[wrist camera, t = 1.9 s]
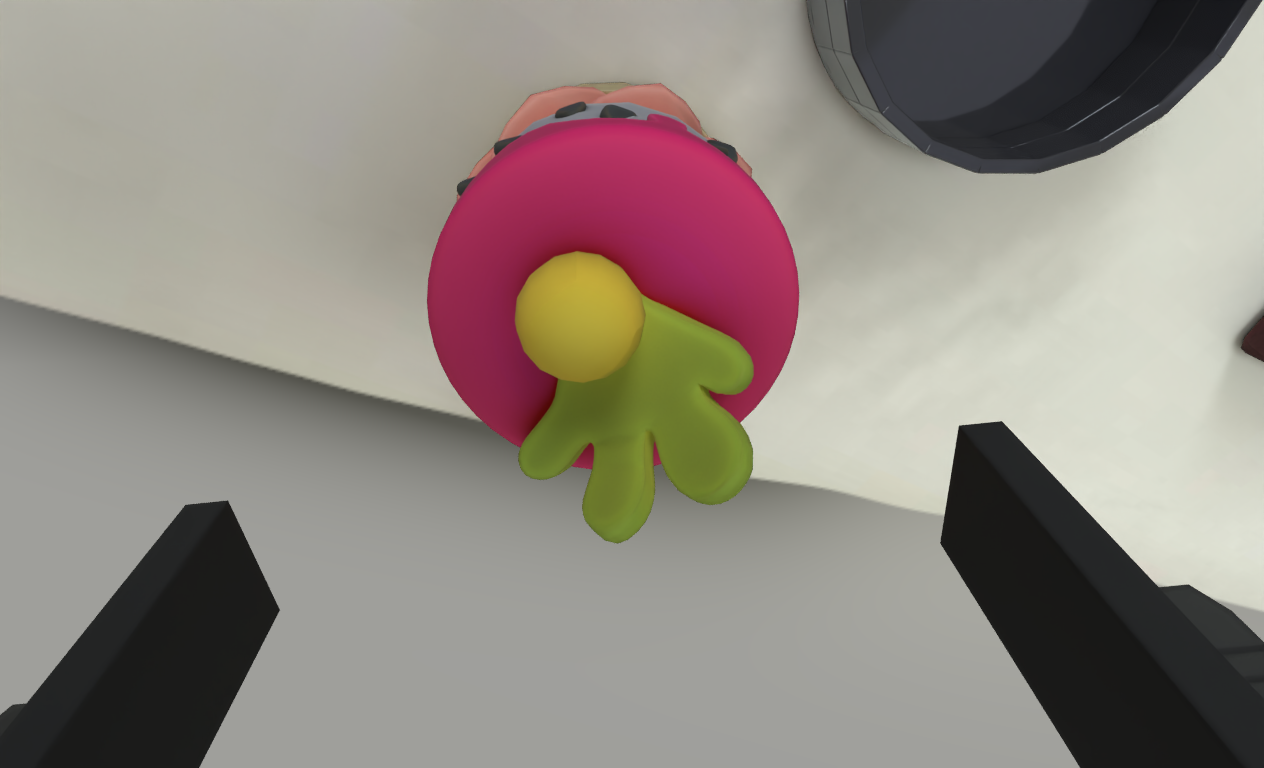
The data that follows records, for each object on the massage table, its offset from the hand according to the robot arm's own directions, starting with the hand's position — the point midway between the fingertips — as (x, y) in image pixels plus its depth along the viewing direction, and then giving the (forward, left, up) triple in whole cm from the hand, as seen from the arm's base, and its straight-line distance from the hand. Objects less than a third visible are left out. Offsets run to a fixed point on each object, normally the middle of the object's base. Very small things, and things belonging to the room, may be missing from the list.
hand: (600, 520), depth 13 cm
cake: (-1, +1, -18) cm, 18 cm away
